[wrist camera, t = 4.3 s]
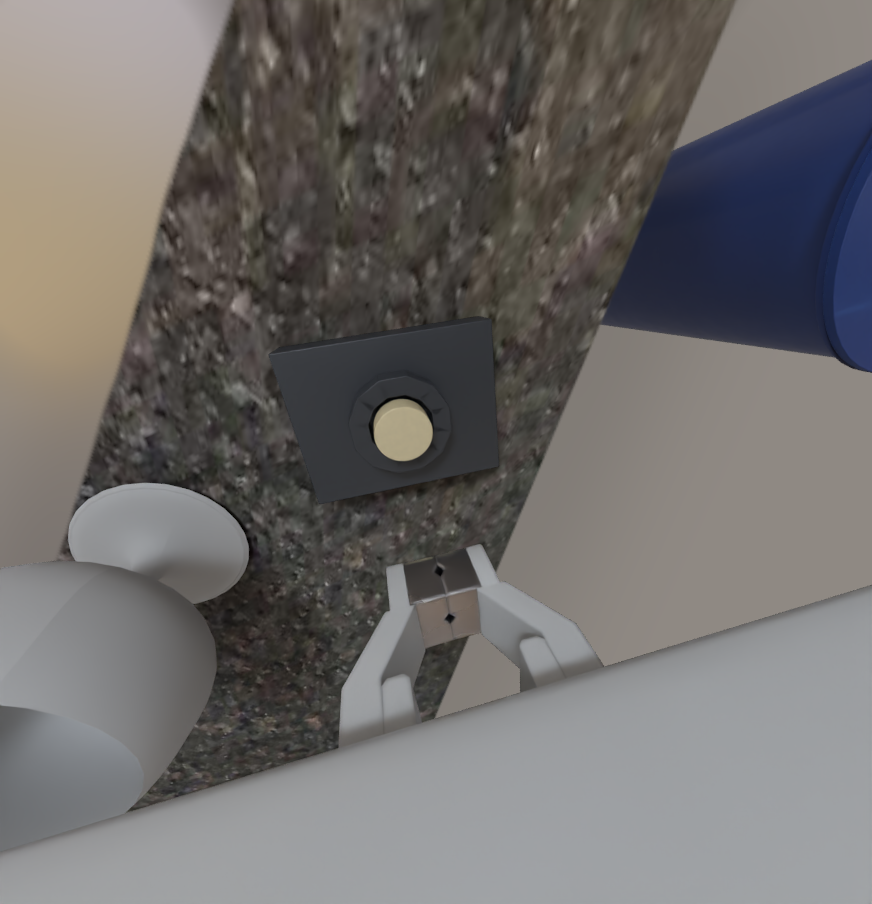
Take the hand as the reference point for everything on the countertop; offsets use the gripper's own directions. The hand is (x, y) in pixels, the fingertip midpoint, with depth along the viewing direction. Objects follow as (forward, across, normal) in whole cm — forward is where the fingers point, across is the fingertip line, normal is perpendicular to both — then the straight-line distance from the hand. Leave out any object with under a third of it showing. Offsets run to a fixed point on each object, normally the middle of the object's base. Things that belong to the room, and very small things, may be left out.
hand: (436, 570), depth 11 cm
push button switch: (+13, 0, 0) cm, 13 cm away
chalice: (+18, +20, +8) cm, 28 cm away
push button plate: (+17, 0, 0) cm, 17 cm away
